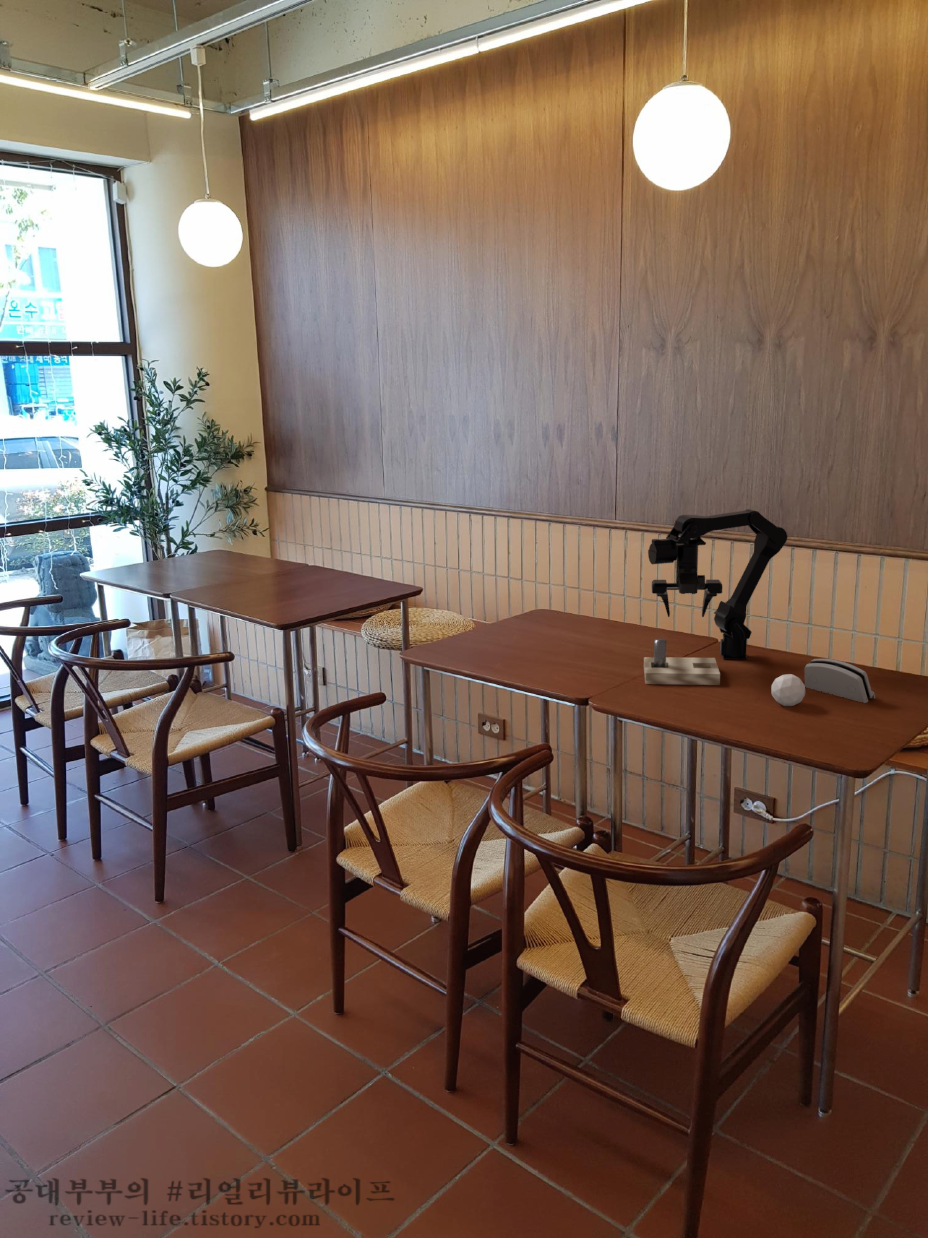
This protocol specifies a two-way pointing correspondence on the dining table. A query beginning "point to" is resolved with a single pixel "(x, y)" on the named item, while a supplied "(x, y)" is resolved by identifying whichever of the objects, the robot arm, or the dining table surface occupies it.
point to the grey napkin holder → (838, 679)
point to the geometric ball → (788, 690)
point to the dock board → (682, 671)
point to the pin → (660, 653)
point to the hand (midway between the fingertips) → (685, 616)
